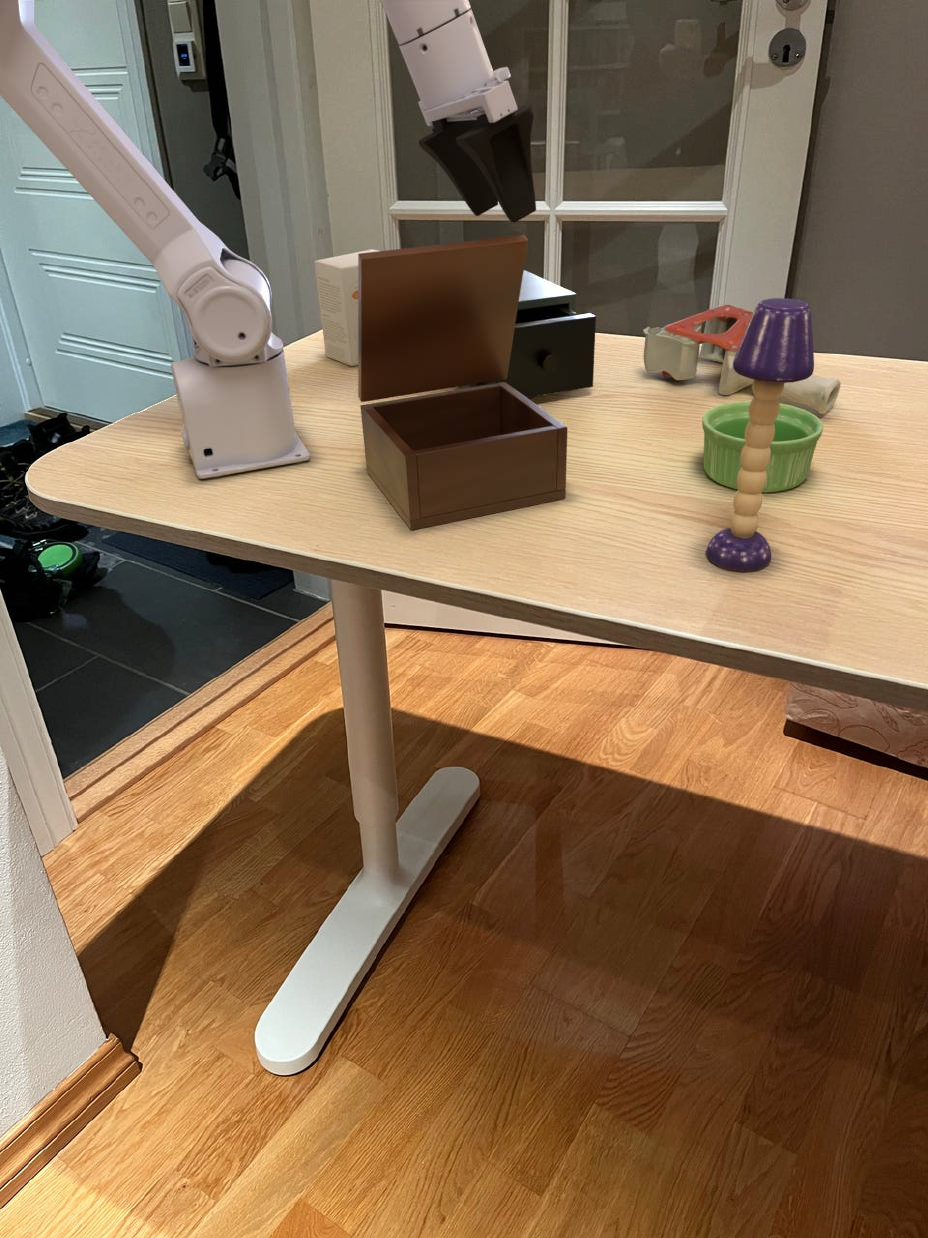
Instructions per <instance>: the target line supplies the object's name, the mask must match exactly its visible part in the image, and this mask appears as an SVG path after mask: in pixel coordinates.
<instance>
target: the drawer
mask: <svg viewBox="0 0 928 1238" xmlns="http://www.w3.org/2000/svg"><path fill="white" fill-rule="evenodd" d="M596 322H597V316H596V315H594V314H592V313H584V314H578V313H577V312H576V313H575V312H573V311H571V310H569V309H567V308H565V307H563V306H561V305H551V306H544V307H537V308H529V309H522V310H517V316H516V322H515V329H514V335H513V342H512V348H511V355H510V361H509V367H508V374H507V379H503V380H497V381H491V382H484V383H482V384H483V385H489V384H495V383H496V384H497V383H501V382H506V383H507V384H509V385H510V386H511V387H513V388H514V389H515V390H517V391H518V392H520V393H521V394H522V395H524V396H525V397H526V398H528V399H530V398H535V397H542V396H547V395H553V394H559V393H564V392H570V391H578V390H581V389H588V388H593V387H594V374H595V373H594V372H595V371H594V370H595V369H594V368H595V350H596V349H595V347H596V324H597V323H596Z"/></svg>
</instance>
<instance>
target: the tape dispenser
mask: <svg viewBox="0 0 928 1238" xmlns="http://www.w3.org/2000/svg"><path fill="white" fill-rule="evenodd" d="M753 312H754V311H749V310H746V309H743V308H740V307H736V306H734V305H731V304H724V305H721V306H717V307H711V308H708V309H706V310H705V311H703V312H699V313H697V314H693V315H691V316H688V317H686V318H683V319H682V320H678V321H674V322H672V323H669V324H667V325H665V326H663V327H659V326H656V327H652V328H651V327H650V326H647V327H646V328H644V329H643V330H642V331H643V333H644V334H645V337H644V347H643V364H644V370H645V371H646V372H655V371H661V376H663V377H666V376H668V377H670V378H672V379H673V380H675V381H686V380H692V379H694V378H695V377H696V373H697V368H698V361H699V356H700V358H703V359H706V360H711V361H714V362H718V363H722V368H721V372H720V373H721V375H720V379H719V385H718V390H717V392H718V394H719V395H722V396H731V395H733V394H734V393H737V392H740V391H741V390H743V389H745V388H747V387H749V386H750V385H753V381H754V379H750V378H747V377H744V376H742V375H739V374H738V373H737V372H735V370H734V369H733V361H734V358H735V355H736V353H737V350H738V348H739V345H740V343H741V340H742V338H743V336H744V333H745V331H746V329H747V326H748V324H749V322H750V319H751V317H752V315H753ZM704 323H705V326H704V330H703V332H702V327H703V326H702V325H703V324H704ZM700 346H701V347H700ZM841 384H842V383H841V380H840V379H838V378H827V377H822V376H819V375H817V374H814V373H812V375H811V376H810V377H809V378H807V379H805V380H801V381H797V382H792V383H790V382H788V383H784V388H783V391H782V394H781V395H780V396H779V397H783V398H786V399H788V400H791V401H793V402H797V403H800V404H803V405H806V406H808V407H811V408H813V409H814V410H815V411H817V413H819V414H821V415H824V414H826V413H827V412H828V411H829V410H830V409H831V408H833V406H834V404H835V403H836V401H837V399H838V397H839V393H840V390H841Z"/></svg>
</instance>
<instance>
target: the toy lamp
mask: <svg viewBox="0 0 928 1238" xmlns="http://www.w3.org/2000/svg"><path fill="white" fill-rule="evenodd" d="M752 312H753V315H752V317H751V319H750V322H749V324H748V326H747V329H746V331H745V333H744V336H743V338H742V340H741V343H740V345H739V348H738V350H737V353H736V355H735V358H734V361H733V369H734V370H735V372H737V373H738V374H739V375H742V376H744V377H747V378H750V379H754V381H753V384H752V393H753V397H752V399H751V400H750V401H751V403H750V405H749V418H750V421H749V422H748V424H747V426H746V430H745V441H746V444H745V446H744V447H743V449H742V452H741V464H742V468H741V469H740V471H739V473H738V477H737V486H738V489H736V490H737V491H736V492H735V494H734V497H733V510H734V511H733V512H732V515H731V516H730V521H729V527H727V528H724V529H722V530H720V531H718V532H716V533H715V534H714V536H713V537H712V538H711V539H710V541H709V542H708V544H707V547H706V550H705V555H706V557H707V559H708V560H709V561H710V562H711V563H712V564H714V565H716V566H717V567H721V568H723V569H725V570H732V571H738V572H754V571H759V570H761V569H765V568H766V567H767V566H769V565H770V564H771V562H772V550H771V546H770V544H769V542H768V540H767V539H766V538H765V536H764V535H762V533H760V532H759V531H757V529H758V526H759V516H758V513H759V511H760V510H761V508H762V505H763V494H762V493H763V492H761V491H762V490H763V488H764V487H765V484H766V480H767V474H766V470H765V469H766V467H767V466H768V464H769V462H770V457H771V450H770V444H771V443H772V441H773V439H774V435H775V426H774V421H775V420H776V418H777V416H778V413H779V408H780V404H781V403H780V400H779V398H780V397H781V396H780V395H781V394H782V391H783V388H784V383H788V382H790V383H792V382H797V381H801V380H805V379H807V378H809V377H810V376H811V375H812V374H814V370H815V356H814V355H815V353H814V335H813V323H812V322H813V321H812V319H813V318H812V309H811V307H810V305H809V304H808V303H807V302H805V301H802V300H799V299H793V298H784V297H782V298H781V297H777V298H776V297H775V298H765V299H762V300H761V301H759V302H758V303H757V305H756V306H755V308H754V311H752ZM779 403H780V404H779Z"/></svg>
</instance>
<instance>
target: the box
mask: <svg viewBox="0 0 928 1238" xmlns="http://www.w3.org/2000/svg"><path fill="white" fill-rule="evenodd" d="M359 407H360V415H361V426H362V437H363V447H364V457H365V465H366V467H365V468H366V472H367V474H368V476H369V477H370V478H371V479H372V481H373V482H374V483H375V485H376V486H377V487H378V489H379V490H380V491H381V492H382V494H383V495H384V496H385V498H386V500H388V502H389V503H390V505H391V506H392V507H393V508H394V510H395V512H397V514H398V515H399V516H400V518H401V519H402V520H403V522H404V523H405V525H406V526H407V527H408V529H410V531H414V530H419V529H420V530H421V529H424V528H428V527H434V526H439V525H443V524H449V523H452V522H457V521H462V520H468V519H472V518H477V517H482V516H487V515H492V514H498V513H502V512H506V511H511V510H516V509H521V508H526V507H531V506H535V505H540V504H545V503H550V502H554V501H555V502H556V501H559V500H564V499H566V497H567V496H566V491H567V490H566V489H567V462H568V461H567V459H568V457H567V456H568V426H567V425H565V424H564V423H562V422H561V421H560V420H558V419H557V418H556V417H554V416H552V415H551V414H550V413H549V412H547V411H546V410H545V409H543V408H542V407H541V406H540V405H538V404H536V403H535V402H534V401H532V400H530V398H526V397H525V396H524V395H522V394H521V393H520V392H518V391H517V390H515V389H514V388H513V387H511V386H510V385H509V384H507V383H506V382H501V383H497V384H496V383H495V384H489V385H483V386H477V387H471V388H465V389H459V388H458V389H452V390H445V391H440V392H433V393H429V394H422V395H416V396H409V397H403V398H398V399H397V398H396V399H390V400H385V401H379V402H371V403H364V404H360V405H359Z"/></svg>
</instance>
